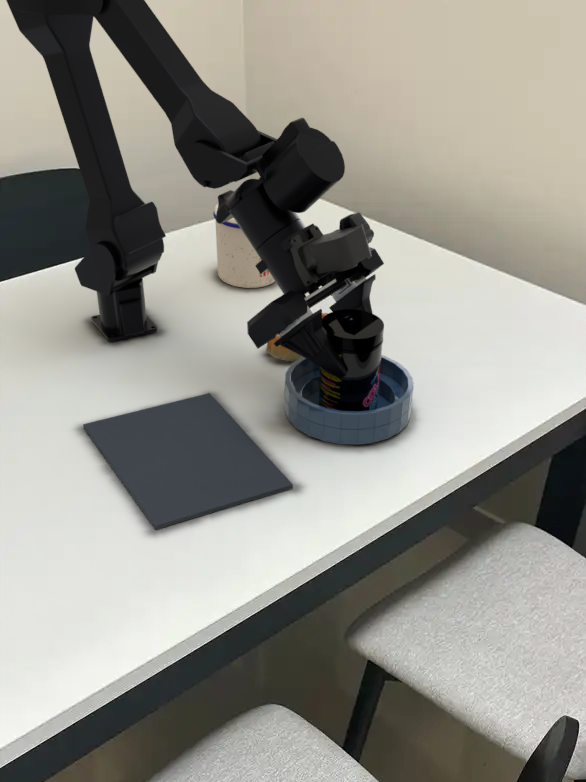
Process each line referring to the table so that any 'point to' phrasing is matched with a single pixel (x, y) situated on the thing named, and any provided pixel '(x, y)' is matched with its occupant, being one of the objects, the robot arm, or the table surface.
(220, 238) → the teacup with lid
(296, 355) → the pastry
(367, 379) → the supplement container
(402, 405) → the bowl
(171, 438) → the placemat
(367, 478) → the table surface
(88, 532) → the table surface
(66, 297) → the table surface
